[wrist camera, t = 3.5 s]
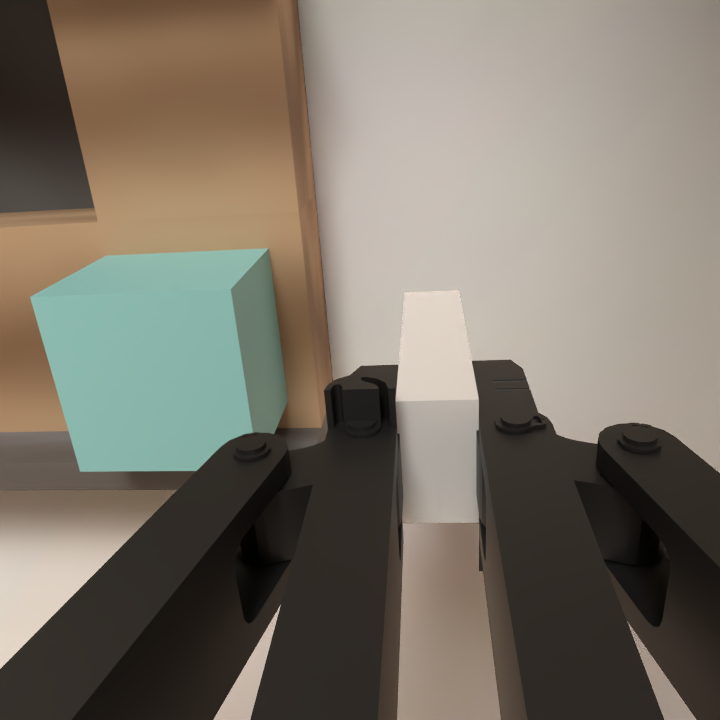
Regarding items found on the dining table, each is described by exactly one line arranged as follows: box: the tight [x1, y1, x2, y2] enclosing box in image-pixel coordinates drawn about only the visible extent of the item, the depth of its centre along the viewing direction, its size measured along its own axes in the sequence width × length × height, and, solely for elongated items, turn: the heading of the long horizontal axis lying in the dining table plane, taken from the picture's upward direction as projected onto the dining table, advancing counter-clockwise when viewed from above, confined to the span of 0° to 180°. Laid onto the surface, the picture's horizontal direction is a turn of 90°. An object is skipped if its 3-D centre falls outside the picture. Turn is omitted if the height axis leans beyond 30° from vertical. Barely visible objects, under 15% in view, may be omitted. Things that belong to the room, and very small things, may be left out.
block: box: [30, 248, 288, 472], centre depth 18 cm, size 5×5×4 cm
